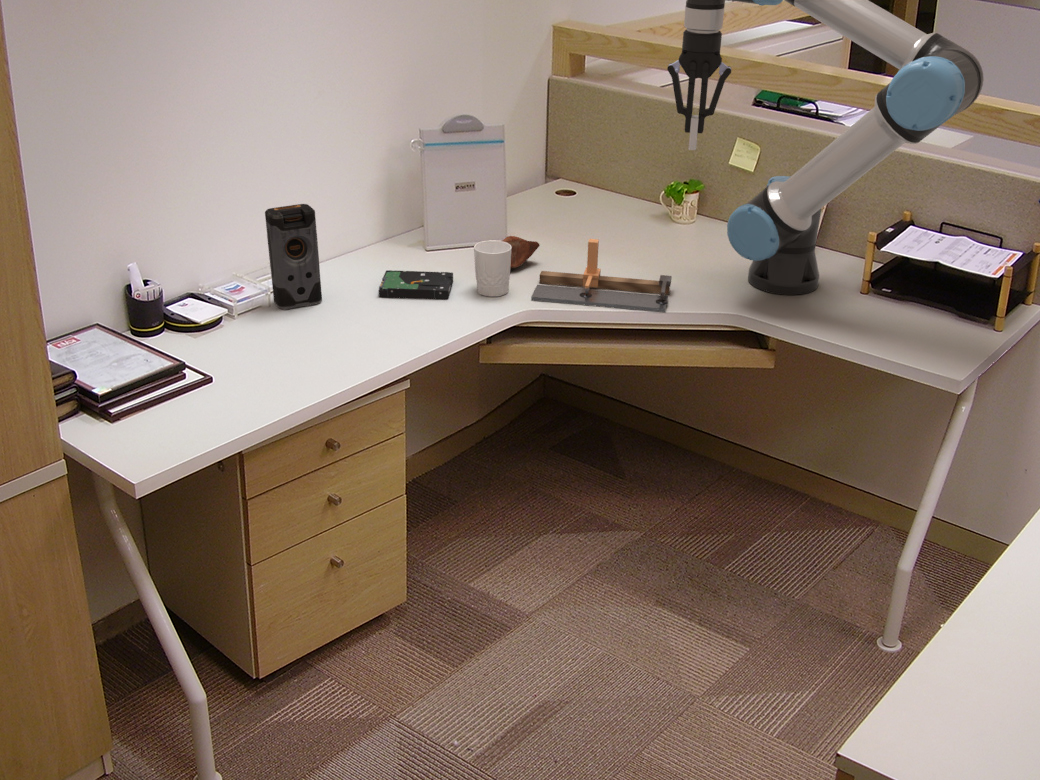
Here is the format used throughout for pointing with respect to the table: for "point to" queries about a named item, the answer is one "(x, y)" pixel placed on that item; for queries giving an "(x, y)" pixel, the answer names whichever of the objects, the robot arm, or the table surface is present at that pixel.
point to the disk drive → (416, 285)
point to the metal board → (600, 298)
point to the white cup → (492, 267)
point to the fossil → (520, 250)
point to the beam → (610, 282)
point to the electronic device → (293, 256)
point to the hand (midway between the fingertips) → (692, 148)
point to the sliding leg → (591, 266)
